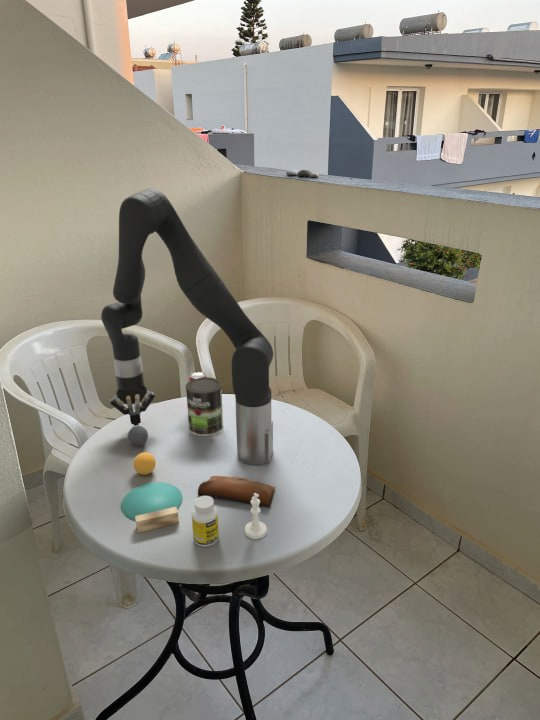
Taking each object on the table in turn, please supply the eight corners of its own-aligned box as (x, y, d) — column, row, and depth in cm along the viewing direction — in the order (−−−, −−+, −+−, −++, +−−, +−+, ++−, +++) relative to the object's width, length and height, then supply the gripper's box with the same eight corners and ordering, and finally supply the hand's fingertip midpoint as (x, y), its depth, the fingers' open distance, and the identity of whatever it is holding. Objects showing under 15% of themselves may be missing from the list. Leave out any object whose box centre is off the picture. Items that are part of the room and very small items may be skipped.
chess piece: (271, 530, 110) (271, 493, 106) (255, 542, 107) (255, 504, 103) (255, 519, 113) (255, 483, 109) (239, 531, 110) (238, 494, 106)
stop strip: (177, 517, 114) (176, 506, 113) (178, 522, 112) (177, 512, 111) (136, 526, 111) (135, 516, 110) (137, 532, 109) (136, 522, 108)
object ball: (159, 467, 131) (157, 449, 129) (151, 480, 126) (149, 461, 124) (139, 465, 132) (137, 447, 130) (131, 477, 127) (128, 459, 125)
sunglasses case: (278, 485, 124) (275, 474, 119) (273, 513, 120) (269, 503, 115) (209, 475, 128) (203, 464, 123) (201, 502, 124) (195, 492, 119)
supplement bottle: (208, 551, 104) (205, 513, 101) (188, 541, 107) (185, 504, 103) (224, 535, 109) (222, 498, 105) (204, 526, 111) (201, 490, 107)
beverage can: (207, 413, 157) (205, 379, 152) (190, 413, 157) (188, 378, 152) (209, 405, 162) (207, 371, 157) (193, 405, 162) (190, 371, 157)
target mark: (190, 486, 124) (190, 485, 124) (170, 525, 112) (170, 524, 111) (136, 480, 126) (136, 479, 126) (111, 517, 114) (110, 517, 114)
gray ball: (152, 439, 143) (150, 423, 141) (144, 450, 138) (142, 433, 136) (133, 438, 144) (131, 421, 142) (125, 448, 139) (123, 431, 137)
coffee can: (215, 439, 144) (213, 395, 138) (182, 433, 147) (179, 390, 141) (228, 421, 153) (227, 379, 147) (197, 416, 156) (194, 375, 150)
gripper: (151, 362, 147) (156, 414, 154) (103, 369, 143) (111, 422, 150) (154, 372, 141) (160, 426, 147) (105, 380, 136) (113, 434, 143)
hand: (135, 424), depth 149 cm, fingers closed
